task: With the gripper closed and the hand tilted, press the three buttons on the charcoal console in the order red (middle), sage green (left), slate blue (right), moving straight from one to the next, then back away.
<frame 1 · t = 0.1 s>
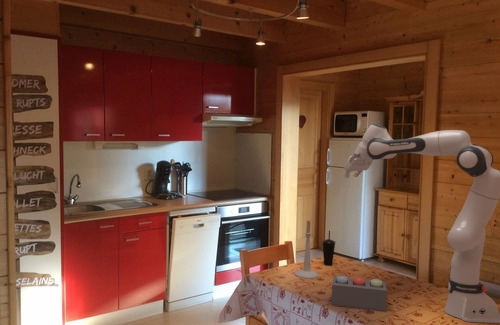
hand: (350, 177, 219), 54 cm above the table, tool tilted 30°, fingers open, 8 cm apart
red button: (359, 282, 192), point 9 cm above the table, slide at 0.0 cm
drinking cup: (328, 264, 252), on the table
candlestick: (306, 275, 231), on the table
green button: (376, 284, 190), point 9 cm above the table, slide at 0.0 cm
console: (358, 303, 192), on the table
blue button: (341, 281, 194), point 9 cm above the table, slide at 0.0 cm
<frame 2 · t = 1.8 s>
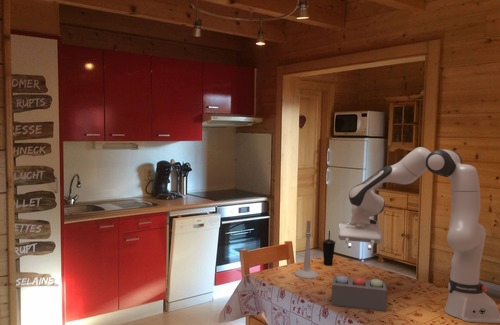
hand: (359, 248, 203), 22 cm above the table, tool tilted 45°, fingers open, 8 cm apart
nothing on the table moved.
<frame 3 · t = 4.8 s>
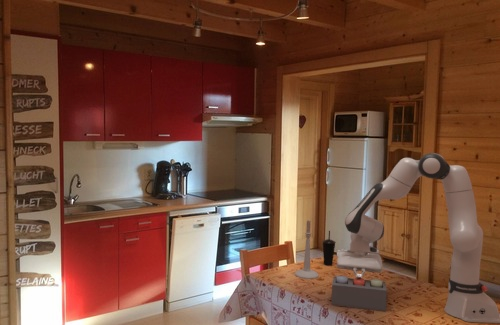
hand: (358, 278, 192), 11 cm above the table, tool tilted 45°, fingers closed, pressing on red button
red button: (358, 283, 192), point 9 cm above the table, slide at 0.4 cm, touching gripper
everything else where it was.
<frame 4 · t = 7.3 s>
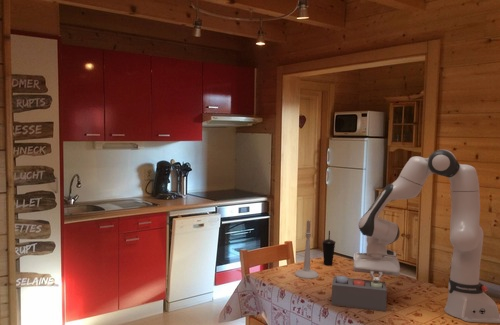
hand: (376, 281, 190), 11 cm above the table, tool tilted 45°, fingers closed, pressing on green button
red button: (358, 285, 192), point 8 cm above the table, slide at 1.2 cm
green button: (376, 287, 190), point 8 cm above the table, slide at 1.1 cm, touching gripper
everything else where it was.
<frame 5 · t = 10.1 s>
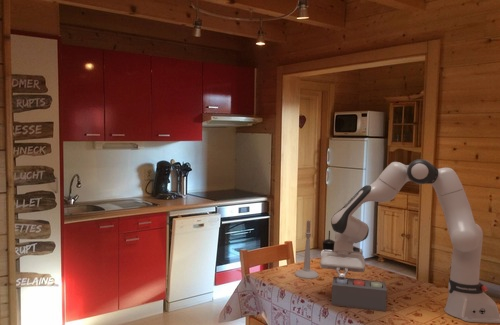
hand: (341, 278, 193), 11 cm above the table, tool tilted 45°, fingers closed, pressing on blue button
green button: (376, 287, 190), point 8 cm above the table, slide at 1.3 cm
blue button: (341, 283, 194), point 8 cm above the table, slide at 1.0 cm, touching gripper
everything else where it was.
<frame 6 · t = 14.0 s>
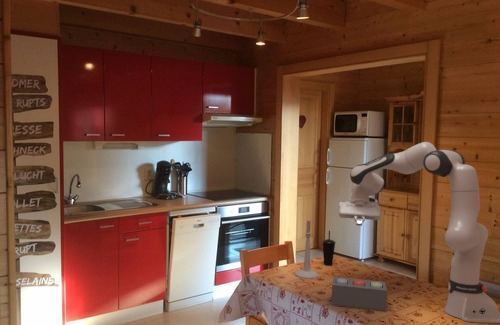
hand: (359, 224, 212), 31 cm above the table, tool tilted 45°, fingers closed
blue button: (341, 283, 194), point 8 cm above the table, slide at 1.2 cm
everything else where it was.
at the end: red button slide at 1.2 cm; green button slide at 1.3 cm; blue button slide at 1.2 cm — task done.
